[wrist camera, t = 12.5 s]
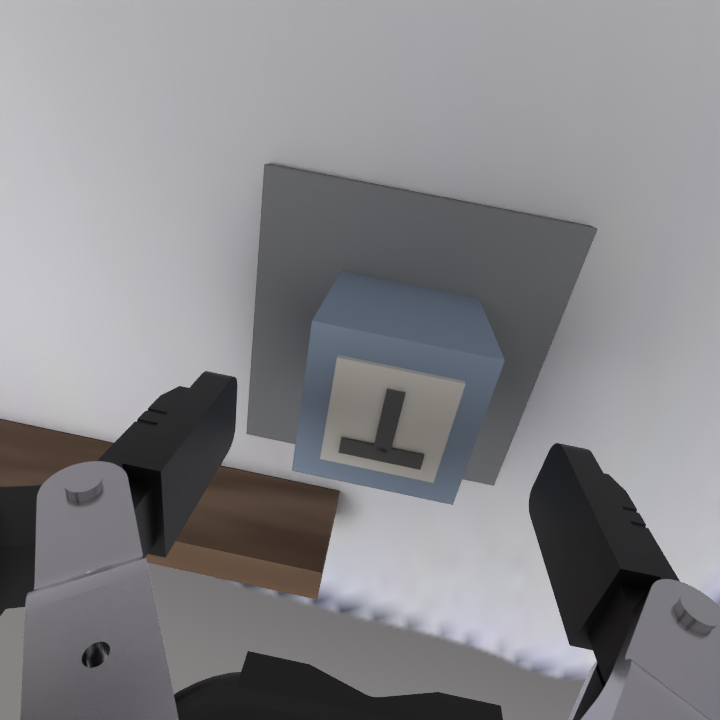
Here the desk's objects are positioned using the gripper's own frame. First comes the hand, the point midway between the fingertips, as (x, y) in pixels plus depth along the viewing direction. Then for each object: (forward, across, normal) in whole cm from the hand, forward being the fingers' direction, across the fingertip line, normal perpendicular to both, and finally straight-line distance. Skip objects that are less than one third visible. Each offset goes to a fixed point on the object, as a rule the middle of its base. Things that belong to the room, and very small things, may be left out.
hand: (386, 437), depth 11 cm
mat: (+7, 0, 0) cm, 7 cm away
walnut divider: (+7, +12, +9) cm, 17 cm away
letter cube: (+6, 0, 0) cm, 6 cm away
